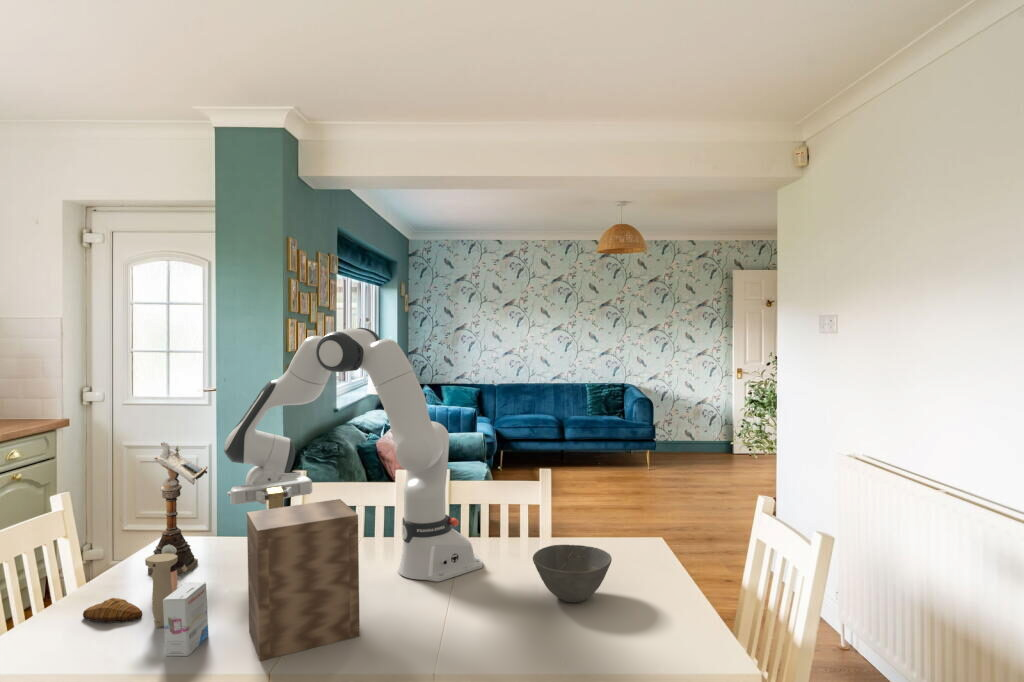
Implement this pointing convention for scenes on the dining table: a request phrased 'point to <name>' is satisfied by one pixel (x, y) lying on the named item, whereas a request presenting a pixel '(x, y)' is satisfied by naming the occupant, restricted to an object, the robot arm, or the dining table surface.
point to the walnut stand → (302, 577)
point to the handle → (160, 583)
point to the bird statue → (170, 493)
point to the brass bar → (275, 498)
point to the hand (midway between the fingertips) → (276, 495)
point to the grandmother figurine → (172, 550)
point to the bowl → (572, 570)
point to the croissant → (113, 611)
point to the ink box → (185, 619)
